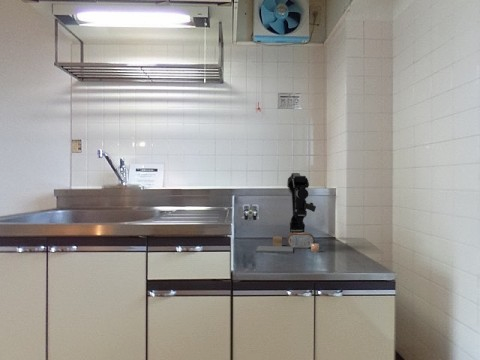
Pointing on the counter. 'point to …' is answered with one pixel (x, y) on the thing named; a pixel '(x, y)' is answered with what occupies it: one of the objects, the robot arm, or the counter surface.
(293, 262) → the counter surface
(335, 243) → the counter surface
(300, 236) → the tin
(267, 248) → the mat
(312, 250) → the small orange block
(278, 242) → the walnut block
